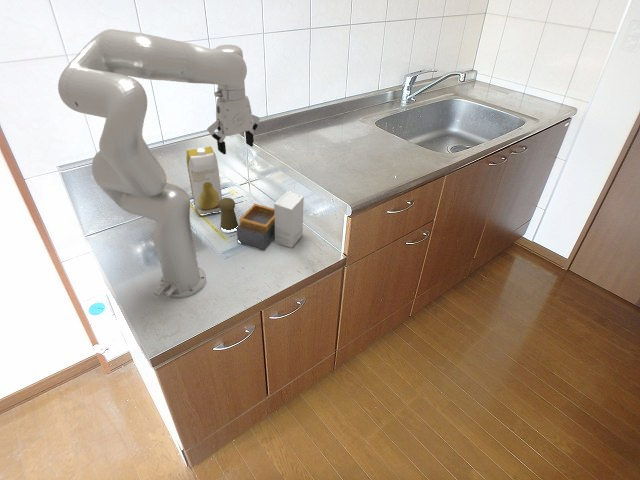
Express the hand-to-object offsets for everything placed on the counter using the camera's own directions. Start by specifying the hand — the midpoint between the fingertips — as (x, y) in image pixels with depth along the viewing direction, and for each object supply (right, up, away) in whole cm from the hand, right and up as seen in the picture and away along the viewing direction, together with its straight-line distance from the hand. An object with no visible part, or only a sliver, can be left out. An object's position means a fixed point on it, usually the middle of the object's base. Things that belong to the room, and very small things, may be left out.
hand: (236, 148), depth 128 cm
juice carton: (-13, -18, +19) cm, 29 cm away
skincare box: (+16, -28, +7) cm, 33 cm away
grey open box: (+7, -27, +9) cm, 29 cm away
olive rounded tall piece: (-5, -24, +11) cm, 27 cm away
